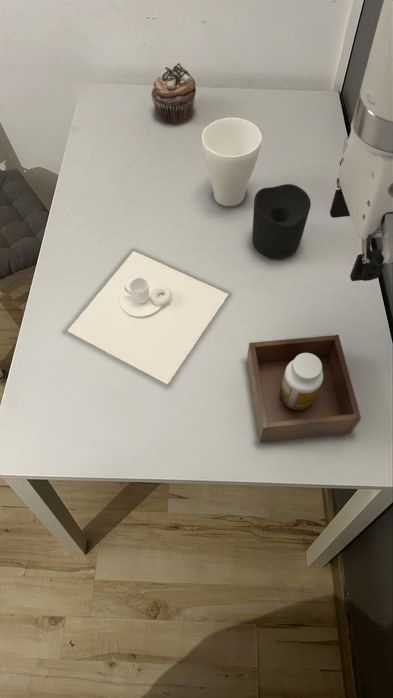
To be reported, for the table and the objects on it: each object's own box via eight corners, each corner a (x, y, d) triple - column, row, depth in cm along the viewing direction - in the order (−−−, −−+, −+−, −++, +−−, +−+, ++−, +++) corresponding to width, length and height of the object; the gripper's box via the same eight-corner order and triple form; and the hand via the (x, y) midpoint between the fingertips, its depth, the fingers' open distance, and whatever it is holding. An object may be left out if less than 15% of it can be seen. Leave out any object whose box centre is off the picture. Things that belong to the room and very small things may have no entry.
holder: (330, 354, 80) (338, 334, 75) (350, 434, 74) (361, 418, 68) (246, 361, 80) (249, 342, 75) (259, 442, 74) (263, 428, 68)
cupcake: (177, 94, 115) (175, 50, 106) (204, 114, 111) (204, 70, 102) (144, 111, 112) (139, 67, 103) (171, 132, 108) (167, 89, 100)
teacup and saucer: (177, 293, 87) (176, 279, 84) (152, 327, 84) (150, 314, 80) (136, 274, 89) (132, 259, 86) (110, 306, 86) (106, 292, 83)
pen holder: (288, 269, 89) (296, 230, 80) (241, 250, 92) (244, 210, 83) (309, 234, 93) (319, 193, 84) (263, 217, 96) (268, 175, 87)
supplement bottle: (320, 389, 77) (334, 359, 68) (305, 417, 75) (317, 389, 66) (289, 372, 78) (298, 341, 70) (273, 399, 76) (280, 370, 68)
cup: (264, 205, 97) (272, 147, 85) (215, 221, 95) (215, 163, 84) (242, 171, 102) (246, 111, 90) (194, 185, 100) (192, 126, 88)
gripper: (476, 180, 40) (406, 301, 55) (409, 55, 48) (364, 189, 63) (384, 190, 40) (339, 309, 55) (332, 62, 48) (305, 196, 63)
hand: (352, 245), depth 59 cm, fingers open, 9 cm apart
